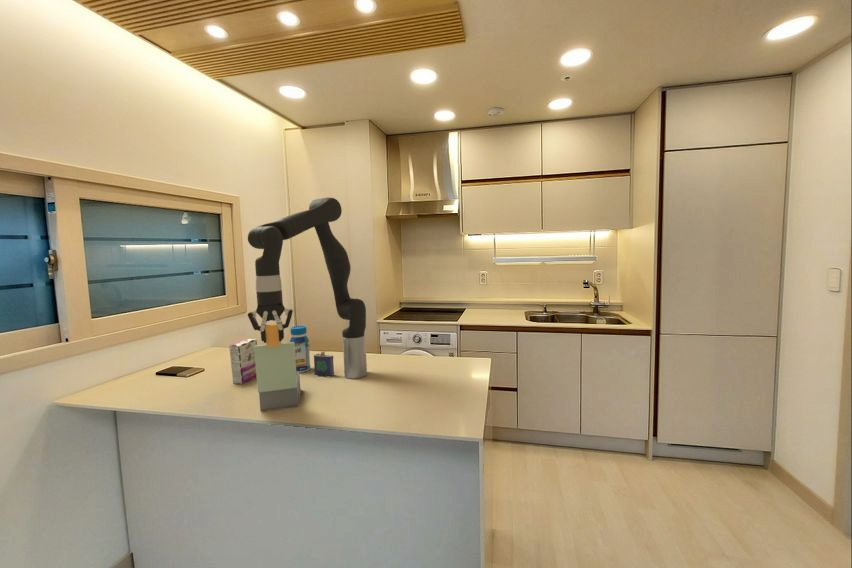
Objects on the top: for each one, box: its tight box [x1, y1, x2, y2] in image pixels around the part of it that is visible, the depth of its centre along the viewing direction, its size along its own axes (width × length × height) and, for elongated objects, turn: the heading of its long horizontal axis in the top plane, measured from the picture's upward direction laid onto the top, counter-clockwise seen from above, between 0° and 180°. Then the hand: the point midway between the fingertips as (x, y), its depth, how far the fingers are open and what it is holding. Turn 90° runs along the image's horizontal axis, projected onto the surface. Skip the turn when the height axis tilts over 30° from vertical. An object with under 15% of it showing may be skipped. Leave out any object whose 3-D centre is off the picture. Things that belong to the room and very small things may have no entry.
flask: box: [313, 350, 335, 377], centre depth 155 cm, size 9×3×11 cm, turn 74°
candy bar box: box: [229, 338, 258, 385], centre depth 153 cm, size 11×5×16 cm, turn 168°
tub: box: [258, 372, 301, 412], centre depth 130 cm, size 12×16×7 cm
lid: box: [254, 322, 297, 393], centre depth 119 cm, size 12×23×4 cm
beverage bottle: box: [289, 325, 311, 374], centre depth 162 cm, size 8×8×20 cm
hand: (273, 341), depth 117 cm, fingers closed on lid, 4 cm apart
